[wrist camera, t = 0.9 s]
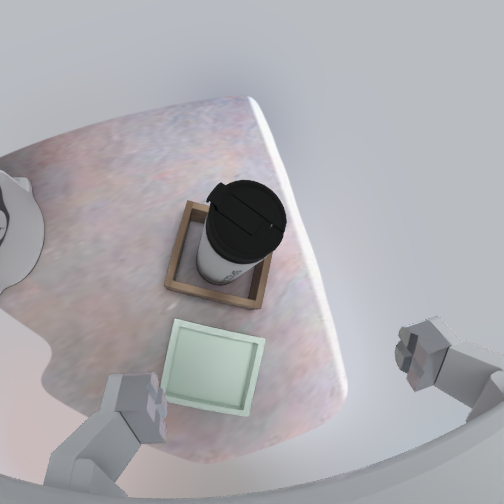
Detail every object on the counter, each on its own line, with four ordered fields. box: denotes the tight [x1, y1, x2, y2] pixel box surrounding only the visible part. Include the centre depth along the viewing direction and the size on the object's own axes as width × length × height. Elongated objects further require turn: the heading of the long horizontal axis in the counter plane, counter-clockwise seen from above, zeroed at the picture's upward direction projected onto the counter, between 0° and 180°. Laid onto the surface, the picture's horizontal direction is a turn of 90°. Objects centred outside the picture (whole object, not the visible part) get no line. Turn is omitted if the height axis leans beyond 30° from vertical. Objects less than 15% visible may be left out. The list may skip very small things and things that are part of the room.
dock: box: [160, 318, 266, 417], centre depth 38 cm, size 12×11×2 cm
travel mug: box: [196, 180, 287, 285], centre depth 33 cm, size 6×7×20 cm
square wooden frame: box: [164, 200, 273, 310], centre depth 40 cm, size 12×11×5 cm
